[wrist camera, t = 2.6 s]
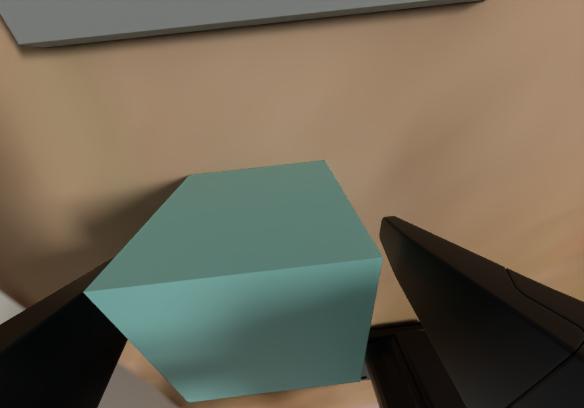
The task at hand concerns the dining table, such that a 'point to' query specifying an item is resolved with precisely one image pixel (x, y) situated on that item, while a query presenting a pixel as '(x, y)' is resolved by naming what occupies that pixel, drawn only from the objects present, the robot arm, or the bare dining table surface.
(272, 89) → the dining table surface
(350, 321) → the teal block
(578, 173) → the dining table surface
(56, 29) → the gray mat
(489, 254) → the dining table surface
